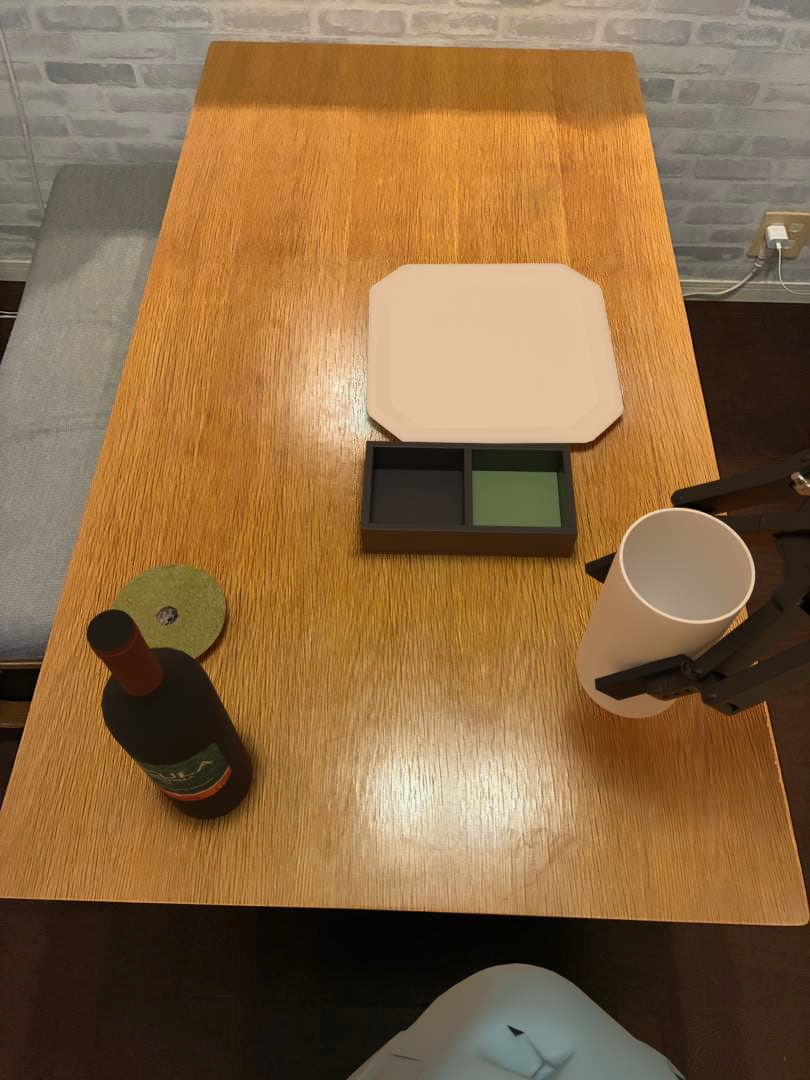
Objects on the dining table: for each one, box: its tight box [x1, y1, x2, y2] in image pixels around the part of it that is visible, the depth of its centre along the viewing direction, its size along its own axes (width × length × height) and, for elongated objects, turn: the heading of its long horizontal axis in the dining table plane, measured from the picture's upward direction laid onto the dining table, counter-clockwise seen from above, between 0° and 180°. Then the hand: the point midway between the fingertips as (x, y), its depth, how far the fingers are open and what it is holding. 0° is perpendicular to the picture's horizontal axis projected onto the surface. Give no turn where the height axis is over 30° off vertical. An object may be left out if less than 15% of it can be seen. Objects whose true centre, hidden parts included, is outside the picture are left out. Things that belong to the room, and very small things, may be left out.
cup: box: [575, 507, 756, 719], centre depth 59 cm, size 8×8×16 cm
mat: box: [110, 563, 227, 659], centre depth 83 cm, size 11×11×2 cm
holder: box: [360, 440, 579, 558], centre depth 89 cm, size 11×21×5 cm, turn 88°
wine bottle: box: [85, 609, 254, 821], centre depth 63 cm, size 8×8×30 cm
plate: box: [365, 262, 625, 446], centre depth 101 cm, size 29×29×2 cm
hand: (601, 630), depth 60 cm, fingers closed on cup, 8 cm apart
